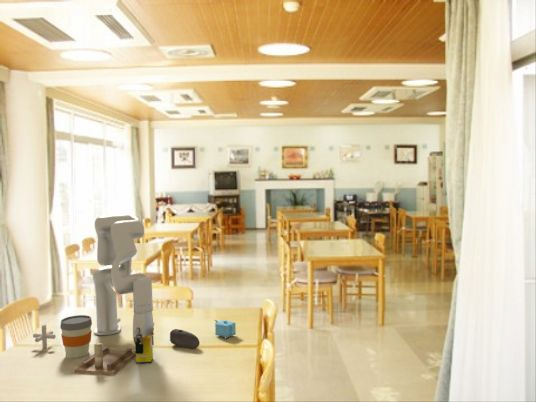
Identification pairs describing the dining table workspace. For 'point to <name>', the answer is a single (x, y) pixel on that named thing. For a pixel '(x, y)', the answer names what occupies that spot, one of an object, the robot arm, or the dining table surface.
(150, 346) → the supplement box
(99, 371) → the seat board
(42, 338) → the pipe connector
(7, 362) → the dining table surface
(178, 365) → the dining table surface
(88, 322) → the reusable coffee cup
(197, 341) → the perforated stone tool
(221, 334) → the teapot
